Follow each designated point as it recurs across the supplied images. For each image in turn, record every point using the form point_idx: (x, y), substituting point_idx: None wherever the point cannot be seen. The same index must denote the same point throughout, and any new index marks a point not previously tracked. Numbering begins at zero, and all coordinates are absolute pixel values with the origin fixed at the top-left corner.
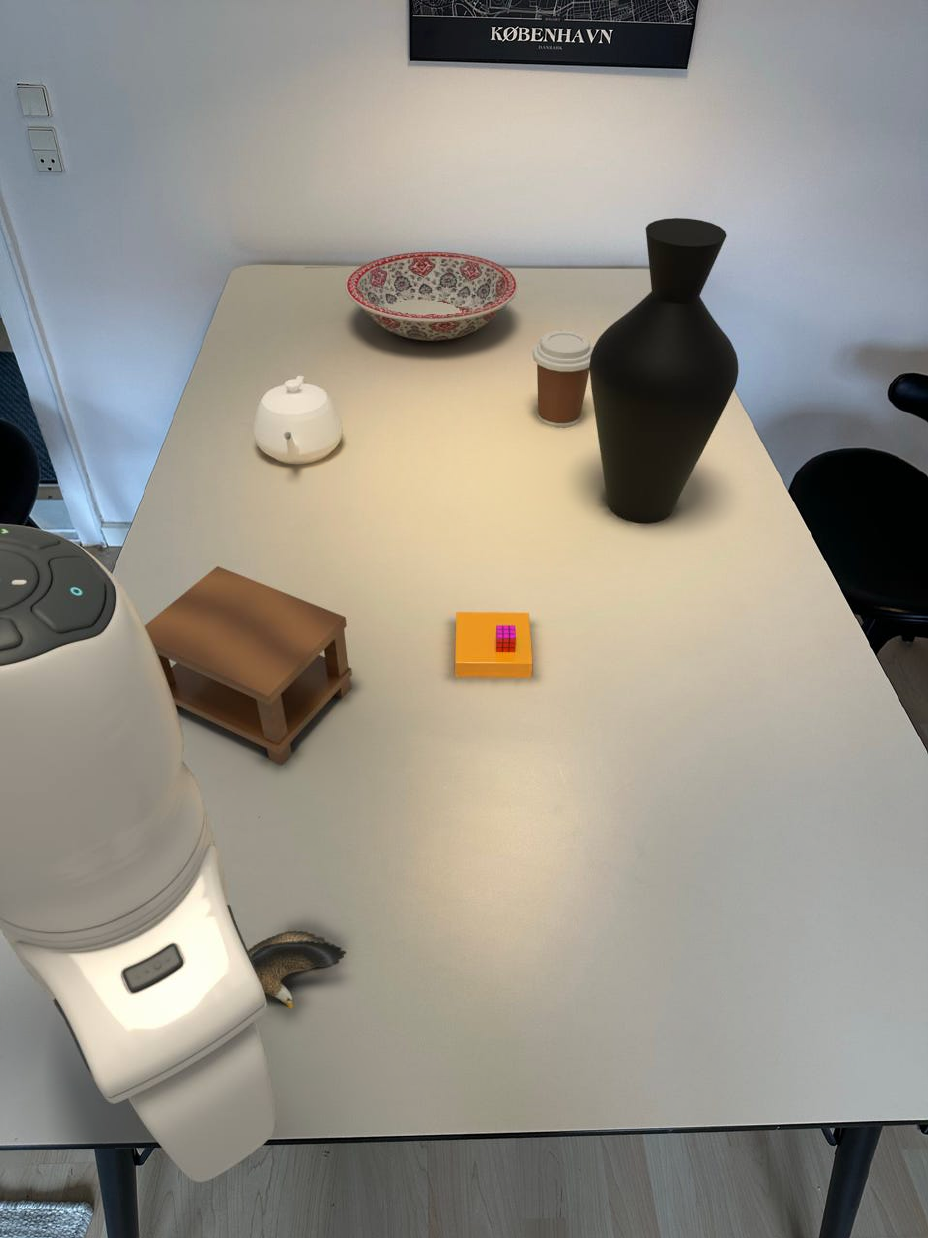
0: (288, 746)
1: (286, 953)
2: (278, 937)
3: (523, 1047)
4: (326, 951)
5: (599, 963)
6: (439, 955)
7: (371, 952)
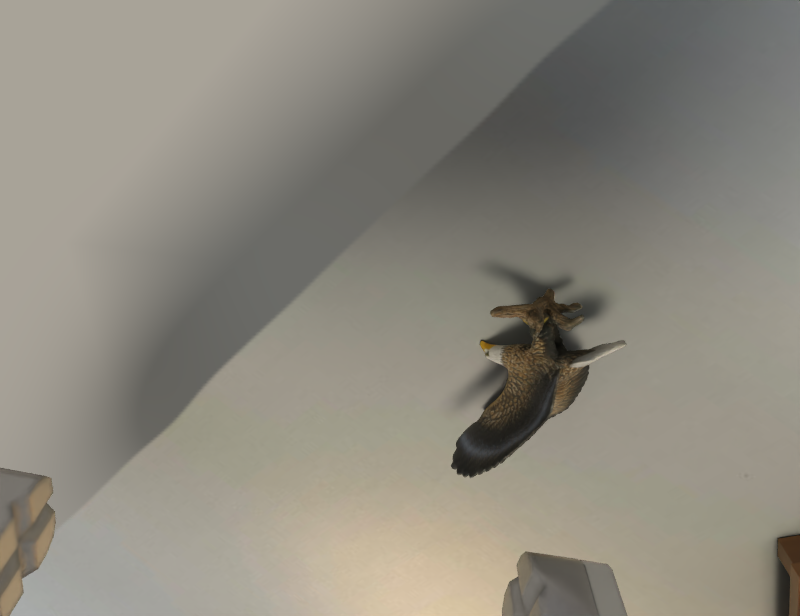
0: (789, 572)
1: (520, 418)
2: (566, 402)
3: (228, 481)
4: (470, 458)
5: (244, 583)
6: (386, 494)
7: None
